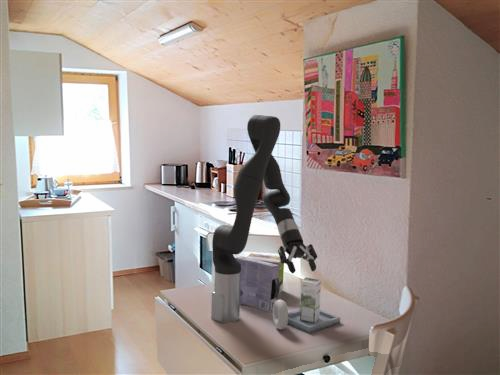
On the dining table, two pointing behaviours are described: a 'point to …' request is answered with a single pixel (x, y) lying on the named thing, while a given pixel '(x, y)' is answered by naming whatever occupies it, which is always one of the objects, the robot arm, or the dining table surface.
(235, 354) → the dining table surface
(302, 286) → the syrup box
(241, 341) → the dining table surface
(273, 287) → the cake pan box
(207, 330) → the dining table surface
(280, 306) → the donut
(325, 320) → the tray
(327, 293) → the dining table surface
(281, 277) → the tea box
